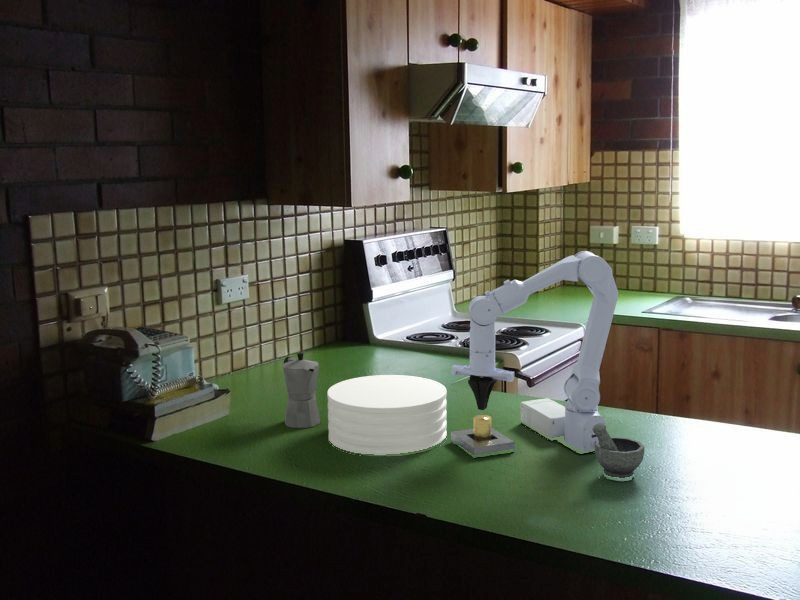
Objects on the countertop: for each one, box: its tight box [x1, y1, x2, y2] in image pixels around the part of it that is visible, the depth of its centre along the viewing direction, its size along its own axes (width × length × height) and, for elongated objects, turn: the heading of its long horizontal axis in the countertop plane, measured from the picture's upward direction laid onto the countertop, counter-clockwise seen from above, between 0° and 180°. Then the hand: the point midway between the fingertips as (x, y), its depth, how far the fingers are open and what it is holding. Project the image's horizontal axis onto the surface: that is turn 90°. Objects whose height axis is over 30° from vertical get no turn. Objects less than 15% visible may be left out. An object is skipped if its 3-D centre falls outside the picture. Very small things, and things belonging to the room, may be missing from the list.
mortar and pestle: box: [592, 423, 645, 478], centre depth 178 cm, size 11×9×12 cm
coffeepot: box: [282, 352, 321, 429], centre depth 216 cm, size 15×9×18 cm, turn 33°
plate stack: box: [326, 374, 448, 455], centre depth 205 cm, size 28×28×12 cm
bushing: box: [473, 414, 492, 442], centre depth 197 cm, size 4×4×7 cm
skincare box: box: [519, 397, 565, 438], centre depth 208 cm, size 8×6×15 cm
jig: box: [450, 426, 515, 455], centre depth 197 cm, size 12×10×2 cm
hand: (482, 408), depth 196 cm, fingers closed
